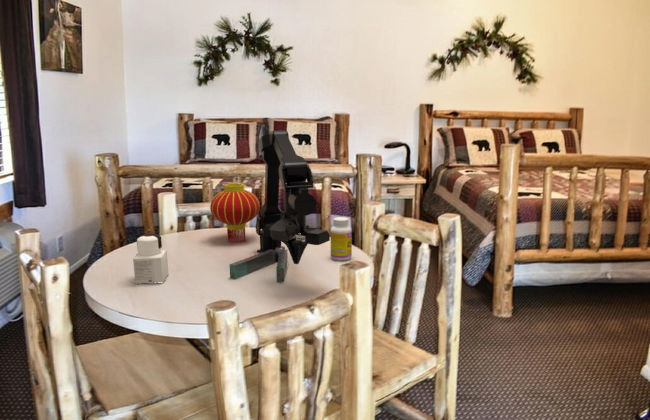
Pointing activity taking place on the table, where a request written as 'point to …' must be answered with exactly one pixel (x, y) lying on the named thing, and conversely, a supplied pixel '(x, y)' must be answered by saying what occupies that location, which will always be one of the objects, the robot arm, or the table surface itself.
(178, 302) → the table surface
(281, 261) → the bar
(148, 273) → the container
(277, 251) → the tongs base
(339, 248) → the supplement bottle
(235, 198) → the lantern
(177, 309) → the table surface
